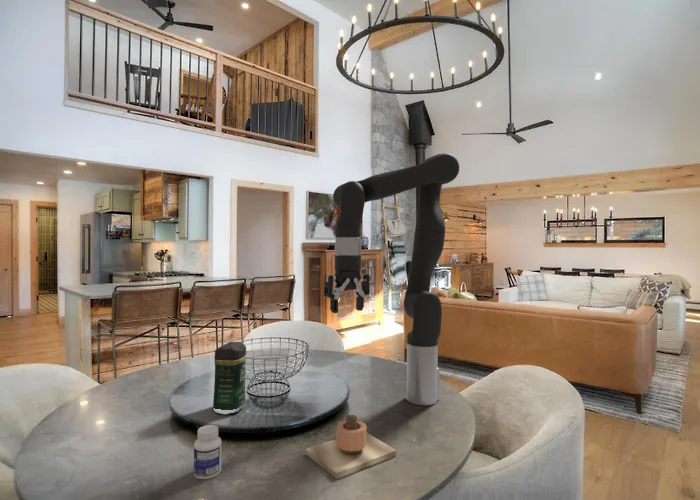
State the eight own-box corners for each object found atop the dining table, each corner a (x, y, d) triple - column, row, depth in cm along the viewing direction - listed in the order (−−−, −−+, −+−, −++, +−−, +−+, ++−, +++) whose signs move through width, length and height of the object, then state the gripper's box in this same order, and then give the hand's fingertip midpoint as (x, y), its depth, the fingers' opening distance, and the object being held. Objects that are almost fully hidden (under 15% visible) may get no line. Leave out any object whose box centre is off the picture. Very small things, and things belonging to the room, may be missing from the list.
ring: (354, 434, 94) (354, 417, 94) (371, 445, 89) (372, 427, 89) (331, 442, 90) (331, 424, 90) (348, 454, 85) (348, 435, 85)
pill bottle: (198, 466, 84) (198, 423, 84) (223, 465, 84) (224, 422, 84) (190, 480, 79) (190, 435, 79) (217, 479, 79) (218, 434, 79)
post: (353, 442, 93) (353, 410, 93) (366, 450, 89) (367, 418, 89) (335, 448, 90) (335, 415, 90) (348, 457, 86) (349, 423, 86)
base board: (362, 435, 99) (362, 430, 99) (396, 455, 89) (396, 450, 89) (305, 454, 89) (306, 448, 89) (336, 479, 80) (336, 473, 80)
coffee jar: (237, 416, 109) (238, 348, 109) (209, 415, 109) (210, 347, 109) (249, 403, 118) (249, 340, 118) (222, 402, 119) (223, 339, 119)
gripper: (359, 253, 120) (359, 308, 120) (319, 253, 112) (318, 311, 112) (376, 254, 114) (375, 311, 114) (334, 254, 106) (333, 315, 106)
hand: (347, 311), depth 113 cm, fingers open, 8 cm apart
